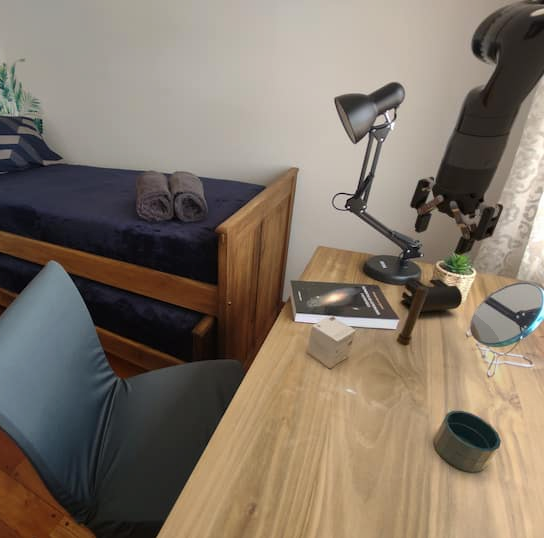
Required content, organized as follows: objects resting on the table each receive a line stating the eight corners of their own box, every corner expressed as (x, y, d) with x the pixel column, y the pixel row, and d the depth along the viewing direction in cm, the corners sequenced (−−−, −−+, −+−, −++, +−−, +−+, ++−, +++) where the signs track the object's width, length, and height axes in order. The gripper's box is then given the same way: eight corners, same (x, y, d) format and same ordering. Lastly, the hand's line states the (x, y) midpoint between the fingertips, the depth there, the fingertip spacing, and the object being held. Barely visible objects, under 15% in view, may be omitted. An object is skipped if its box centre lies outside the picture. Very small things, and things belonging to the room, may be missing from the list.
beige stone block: (329, 369, 72) (337, 341, 68) (305, 352, 76) (311, 324, 72) (348, 357, 74) (356, 329, 71) (324, 341, 79) (330, 314, 75)
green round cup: (464, 432, 59) (477, 410, 56) (496, 472, 53) (512, 450, 51) (423, 433, 59) (435, 411, 56) (451, 473, 53) (465, 451, 50)
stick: (405, 337, 79) (425, 284, 72) (411, 345, 77) (433, 291, 70) (394, 338, 79) (414, 285, 72) (400, 345, 77) (421, 291, 70)
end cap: (416, 319, 85) (425, 295, 81) (398, 302, 91) (405, 279, 87) (455, 316, 86) (466, 292, 82) (434, 299, 92) (444, 276, 88)
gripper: (536, 166, 52) (492, 255, 62) (449, 140, 63) (423, 219, 73) (497, 179, 51) (457, 268, 61) (415, 150, 62) (393, 229, 72)
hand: (439, 241), depth 67 cm, fingers open, 8 cm apart
